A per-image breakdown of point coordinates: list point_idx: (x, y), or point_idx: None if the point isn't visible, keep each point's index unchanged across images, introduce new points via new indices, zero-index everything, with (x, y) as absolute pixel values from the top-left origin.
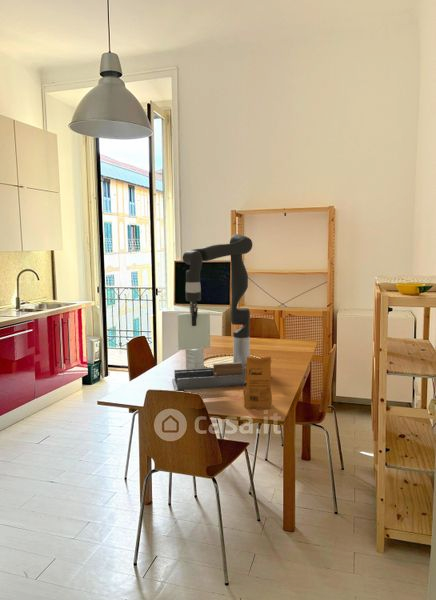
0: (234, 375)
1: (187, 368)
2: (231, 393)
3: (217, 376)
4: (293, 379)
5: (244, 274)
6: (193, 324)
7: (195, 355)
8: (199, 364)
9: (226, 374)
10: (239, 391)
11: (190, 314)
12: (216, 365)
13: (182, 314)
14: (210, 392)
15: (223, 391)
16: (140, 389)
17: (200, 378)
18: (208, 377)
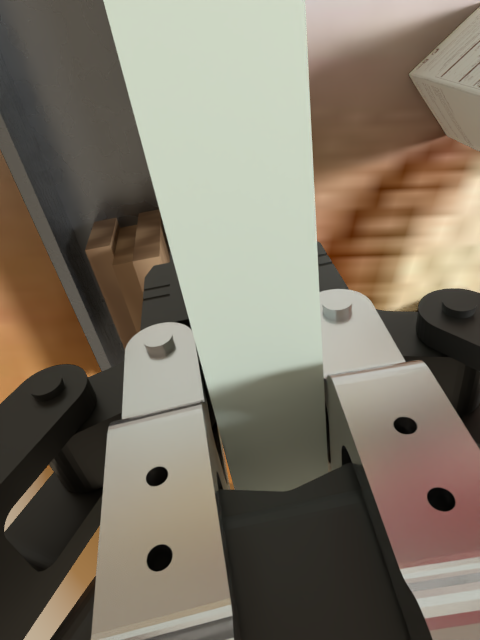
0: (91, 340)
1: (476, 14)
2: (21, 290)
3: (56, 259)
4: (228, 472)
5: None
6: (153, 281)
7: (472, 102)
8: (449, 116)
9: (107, 303)
10: (58, 320)
11: (206, 367)
12: (137, 273)
13: (116, 37)
14: (12, 190)
15: (44, 254)
16: None
17: (4, 153)
18: (27, 207)
